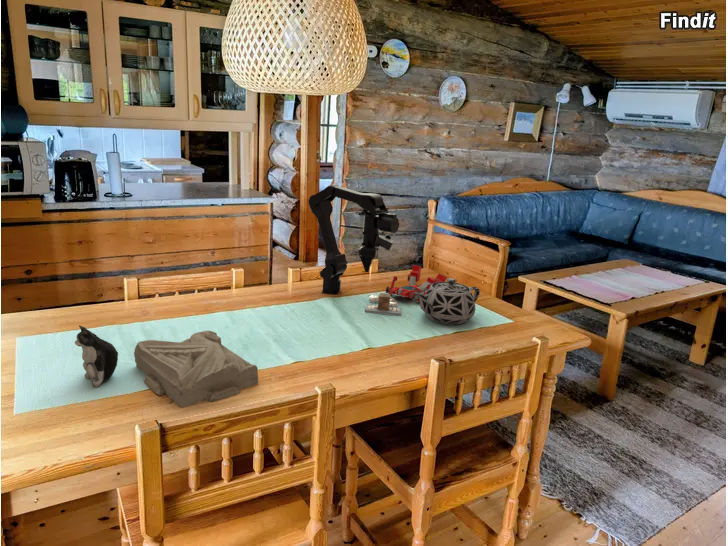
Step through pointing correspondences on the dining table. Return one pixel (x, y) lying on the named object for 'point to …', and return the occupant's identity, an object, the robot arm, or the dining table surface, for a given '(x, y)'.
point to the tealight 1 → (373, 298)
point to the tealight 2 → (393, 304)
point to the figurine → (96, 356)
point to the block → (384, 301)
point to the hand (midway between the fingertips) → (368, 268)
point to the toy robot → (411, 288)
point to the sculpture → (194, 369)
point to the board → (375, 310)
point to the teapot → (449, 302)
